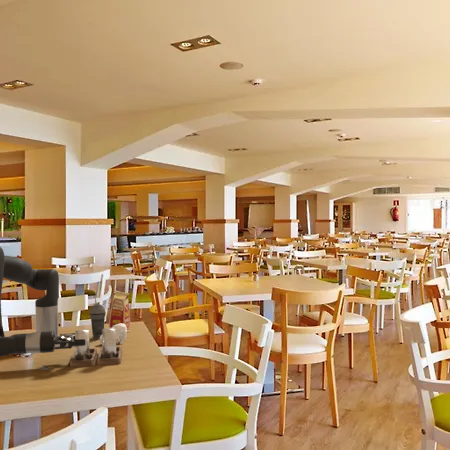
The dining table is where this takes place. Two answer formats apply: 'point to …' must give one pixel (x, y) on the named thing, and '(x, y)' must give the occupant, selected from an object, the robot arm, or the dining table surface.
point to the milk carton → (120, 310)
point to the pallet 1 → (84, 362)
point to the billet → (109, 342)
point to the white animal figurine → (119, 333)
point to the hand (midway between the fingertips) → (86, 339)
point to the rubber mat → (44, 368)
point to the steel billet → (82, 351)
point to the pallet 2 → (110, 360)
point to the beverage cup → (97, 319)
